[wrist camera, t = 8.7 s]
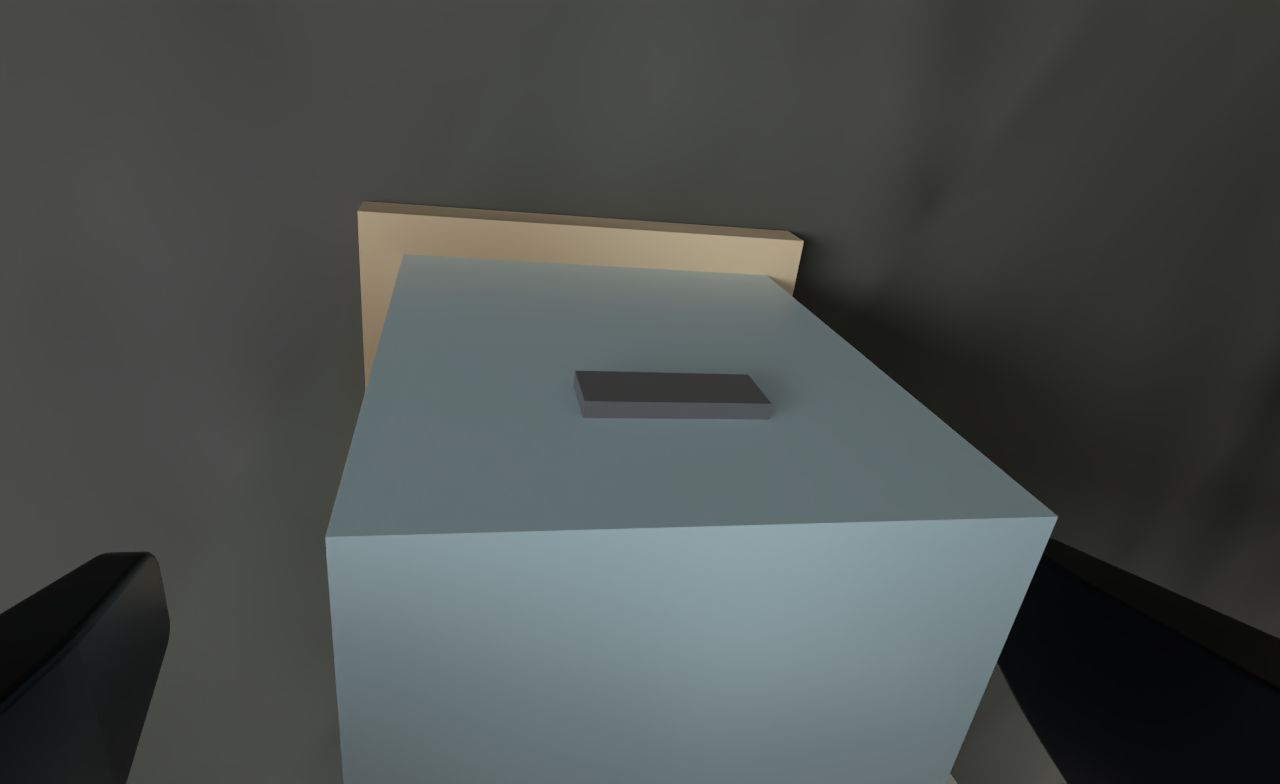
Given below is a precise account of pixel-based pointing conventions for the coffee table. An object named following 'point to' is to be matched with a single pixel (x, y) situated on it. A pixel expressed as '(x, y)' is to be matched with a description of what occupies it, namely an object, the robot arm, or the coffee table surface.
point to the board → (552, 247)
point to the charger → (656, 541)
